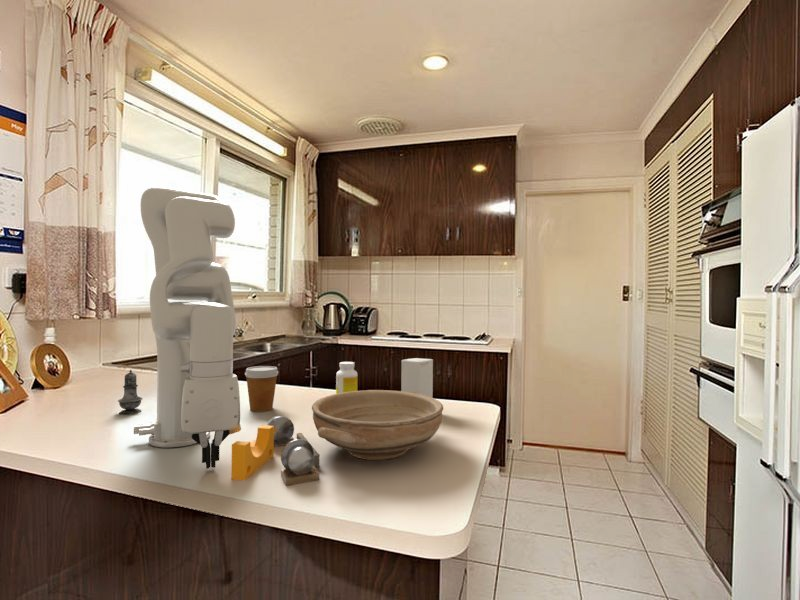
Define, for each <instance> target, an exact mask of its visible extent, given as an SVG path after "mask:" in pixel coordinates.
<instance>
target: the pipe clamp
mask: <svg viewBox="0 0 800 600" xmlns="http://www.w3.org/2000/svg"><path fill="white" fill-rule="evenodd" d="M256 434H257V435H256V439H253V440H252V441H244V440H243V441H242V440H241V441H239V440H236V441H235V442H234V443H232V444H231V469H230V470H231V473H230V474H231V478H230V479H231V480H235V481H236V480H237V481H246V480H248V479H249V477H250V476H253V474H254V473H255V472H256V471H258V470H259V469H260V468H261V467H263V466H264V465H265V464H266V463H267V462H268V461H270V460H271V459H272V458H274V454H275V453H274V451H275V449H274V447H275V446H274V426H268V425H265V424H264V425H260V426H258V428H257V433H256ZM269 459H270V460H269ZM263 464H264V465H263Z"/></svg>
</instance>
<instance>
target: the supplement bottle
mask: <svg viewBox="0 0 800 600" xmlns="http://www.w3.org/2000/svg"><path fill="white" fill-rule="evenodd" d="M355 363H356V362H355V361H354V362H353V361H341V362H339V363H338V364H339V370H338V371H337V372H336V376H335V379H336V380H335V383H336V384H335V394H338V393H344V392H351V391H358V378H359V377H358V372H357V370H355Z"/></svg>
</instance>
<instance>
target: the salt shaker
mask: <svg viewBox="0 0 800 600" xmlns="http://www.w3.org/2000/svg"><path fill="white" fill-rule="evenodd" d="M138 386H139V385H138V384H137V374H136V373H135V372H133V370H132V369H130V370H129V372H128V373H126V374H125V375H124V385H123V386H122V388H123V396H122V398H120V399H118V400H117V402H118V405H119V407H120V408H121V409H122V410H121V411H119V414H118V415H122V416H125V415H135V414H138V413H141V412H142V410H141V409H140V408H138V407H139V406H140V405H141V403H142V400H143V397H142V396H138V393H137V392H138V391H137V389H138Z"/></svg>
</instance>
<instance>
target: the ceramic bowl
mask: <svg viewBox="0 0 800 600" xmlns="http://www.w3.org/2000/svg"><path fill="white" fill-rule="evenodd" d="M311 410H312V419H313V423H314V426H315V428H316V431H317V435H318V438H319V437H320V438H321V439H324V440H325V441H327V442H328V443H329V444H332V445H334V446H336V447H339V448H341V449H344V450H347V451H348V453H349V454H350V455H351V456H352V457H356V458H359V459H362V460H363V459H364V460H369V461H384V460H385V461H386V460H391V459H392V460H393V459H396V458H399V457H401V456H403V455H404V454H406V453H407V451H408V450H411V449H413V448H416V447H418V446H420V445H423V444H424V443H426V442H427V441H429V440H430V439H431V438H432V437H434V435H435V434H436V433H437V432H438V430H439V428H440V425H441V423H442V419H443V411H444V405H443V403H441V402H440V401H439V400H437V399H436V398H435V397H434V398H431V397H428V396H425V395H421V394H419V393H417V392H403V391H401V390H388V389H387V390H386V389H385V390H384V389H367V390H357V391H351V392H344V393H338V394H336V393H333V394H330V395H327V396H324V397H321V398H318V400H316V401H315V402H314V403H313V404H312V406H311Z"/></svg>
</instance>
